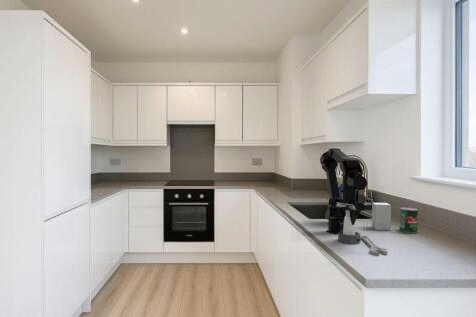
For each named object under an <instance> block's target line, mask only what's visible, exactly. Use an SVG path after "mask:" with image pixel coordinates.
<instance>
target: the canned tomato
mask: <svg viewBox="0 0 476 317" xmlns="http://www.w3.org/2000/svg"><path fill="white" fill-rule="evenodd" d="M399 232H403V233H407V232H408V233H410V234H418V232H419V209H418V208H414V207H404V206H403V207H399Z"/></svg>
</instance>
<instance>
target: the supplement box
mask: <svg viewBox="0 0 476 317" xmlns="http://www.w3.org/2000/svg"><path fill="white" fill-rule="evenodd" d="M371 204H372V210H371V227H372V228H373V229H374V230H376V231H378V230H379V231H391V229H392V228H391V227H392V226H391V225H392V204H389V203H388V202H372V203H371Z"/></svg>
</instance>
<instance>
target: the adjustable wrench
mask: <svg viewBox="0 0 476 317" xmlns="http://www.w3.org/2000/svg"><path fill="white" fill-rule="evenodd" d="M360 240H362V241H363V242H364V243H365V244H366V245H367V246H368V247H369V254H371V255H373V256H378V257H380V254H382V255H384V256H387V255H388V250H387V249H388V248H383V247H380V246H378V245H377V244H375V243H374V242H373V240H372V239H370V238H369V236H367V235H360Z"/></svg>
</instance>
